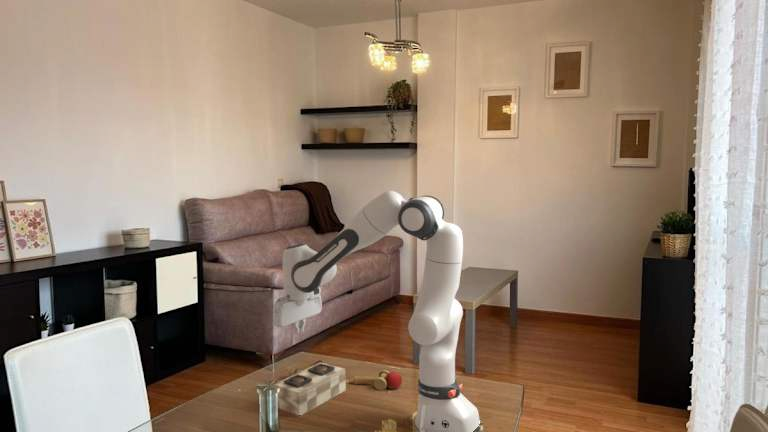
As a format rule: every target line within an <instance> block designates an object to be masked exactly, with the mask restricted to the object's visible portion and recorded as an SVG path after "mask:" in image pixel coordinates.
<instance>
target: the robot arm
mask: <svg viewBox="0 0 768 432" xmlns="http://www.w3.org/2000/svg"><path fill="white" fill-rule="evenodd" d="M444 216H445V210H444V206H443V203H442V202H441V201H440V200H439V199H438V198H436V197H435V196H432V195H420V196H415V197H411V198H408V200H407V199H405V198H404V197H403V196H402V194H400V193H399V192H397V191H394V190H386V191H384V192H382V193H381V194H379V195H377V196H376V197H374V198H373V199H372V200H370V201H369V202H368V203H367V204H366V205H365V206H363V207H362V208H361V209H360V210H359V211H358V212H357V213H356V214H355V216H353V217H352V219H350V221H349V222H348V223H347V224H346V226H345V227H344V228H343V229H342V230H341V231H340V232H339V233H338V234H337V235H336V237H334V238H333V239H332V240H331V241H329V242H328V243H327V244H326V245H325V246H324V247H323V248H321V249H320V250H319V251H316V250H314V249H312V248H311V247H309V245H307V244H305V243H298V244H294V245H290V246H287V247H286V248H285V249H284V250H283V254H282V274H283V277H284V278H283V280H284V281H283V285H282V286H283V296H282V297H278V298H276V301H275V302H274V307H273V313H272V314H273V315H272V316H273V317H272V318H273V321H272V324H273V325H274V326H276V327H278V328H283V327H286V326H289V325H291V327H292V328H293V333H294V334H295V335H298V334H301V333H304V331H305V325H306V322H307V319H308V318H310V317H313V316H316V315H319V314H321V312H322V310H323V306H322V305H323V302H322V296H321V292H322V288H321V287H322V286H324V285H326V284H327V283H329V282H331V281H332V280H333V279H334V278H335V277H336V276H337V274H338V265H337V264H338V263H339V262H340V261H342V260H343V258H345V257H347V256H348V255H351V254H352V253H354V252H356V251H359V250H361V249H363V248H367V247H369V246H371V245H373V244H375V243H376V242H378V241H380V240H381V239H382V238H384V237H385V236H386V235H387V234H389V233H390V232H391V231H392V230H393V229H394V228H396V227H397V226H398V225H399V227H400V228H401V230H403V232H404V233H406V234H407V235H410V236H413V237H415V238H417V239H419V240H421V241H425V242H426V252H425V259H424V261H425V262H424V270H423V277H422V282H421V287H420V291H419V293H418V297H417V299H416V302H415V303H416V304H415V307H414V311H413V312H412V316H411V318H410V320H409V321H408V324H407V325H408V327H407V328H408V330H407V331H408V333H409V336H410V337H411V339H412V340H413V341H414V342H415V343H417V344H419V345H422V346H421V350H420V353H419V357H418V358H419V361H418V362H419V365H418V366H419V367H418V369H419V373H418V374H419V378H417V379H418V380H417V383H418V384H417V392H418V404H417V412H416V416H415V419H414V425H415V427H416V428H417V429H418V432H473V431H474V430H475V429H476V428H477V427H478V426H479V424H480V421H481V420H480V415H479V410H478V408H477V406H475V405H474V404H473V403H472V402H471V401H469V400H468V398H467V397H465V395H464V394H462V392H461V389H462V388H463V383H461V384H458V381H457V379H456V352H457V346H458V341H459V333H460V328H461V327H460V326H461V322H462V319H463V316H464V310H463V306H462V305H461V303H460V301H458V299H456V295H457V292H458V290H459V287H460V283H461V282H460V280H461V274H462V267H463V265H462V264H463V258H464V257H463V256H464V238H463V237H464V236H463V232H462V229H461V228H460V227H459V226H458V225H456V224H455V223H452V222H447V221H445V220H444Z"/></svg>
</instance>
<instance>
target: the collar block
mask: <svg viewBox="0 0 768 432" xmlns="http://www.w3.org/2000/svg"><path fill="white" fill-rule="evenodd" d="M312 365H313V364H312ZM312 365H310V366H311V367H310V366H309V367H307V368H305V369H302V370H303V371H300V372H298V373H296V374H294V375H292V376H290V377H289V376H288V377H286V378H284V379H281V380H280V381H278V382H276V383H275V382H274V383H273V384H272V386H273V385H277V386H279V387H280V392H279V405H280V408H282V409H284V410H287V411H289V412H292V413H295V414H297V415H296V416H298V415H301V416H303V415H305V414H307V413H309V412H310V411H312V410H314V409H315V408H317V407H319V406H321V405H323V404H324V403H326V402H327V401H329V400H331V399H333V398H336V396H338V395H340V394H342V393H344V392H345V391H347V384H346V383H347V380H346V368H344V367H339V366H337V365H336V366H335V365H333V364H332V365H331V364H329V363H328V364H327V363H325V362H323V363H321V362H320V363H317V364H315V365H313V366H312ZM320 366H325V367H327V369H326V370H324V371H318V370H316V368H317V367H320ZM298 377H301V378H304V381H302V382H300V383H295V382H292V379H294V378H298ZM289 412H288V413H289ZM292 413H291V414H292ZM295 414H294V415H295Z"/></svg>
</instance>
